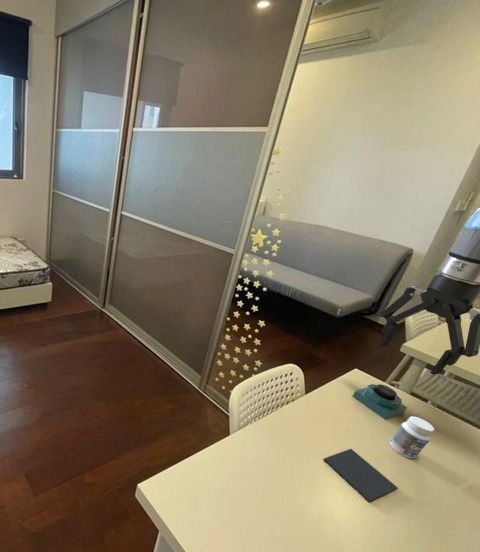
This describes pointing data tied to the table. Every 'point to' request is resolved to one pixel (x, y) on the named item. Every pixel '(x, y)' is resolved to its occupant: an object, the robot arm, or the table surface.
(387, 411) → the button box
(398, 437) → the pill bottle
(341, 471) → the mat
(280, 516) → the table surface
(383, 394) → the button
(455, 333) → the robot arm
